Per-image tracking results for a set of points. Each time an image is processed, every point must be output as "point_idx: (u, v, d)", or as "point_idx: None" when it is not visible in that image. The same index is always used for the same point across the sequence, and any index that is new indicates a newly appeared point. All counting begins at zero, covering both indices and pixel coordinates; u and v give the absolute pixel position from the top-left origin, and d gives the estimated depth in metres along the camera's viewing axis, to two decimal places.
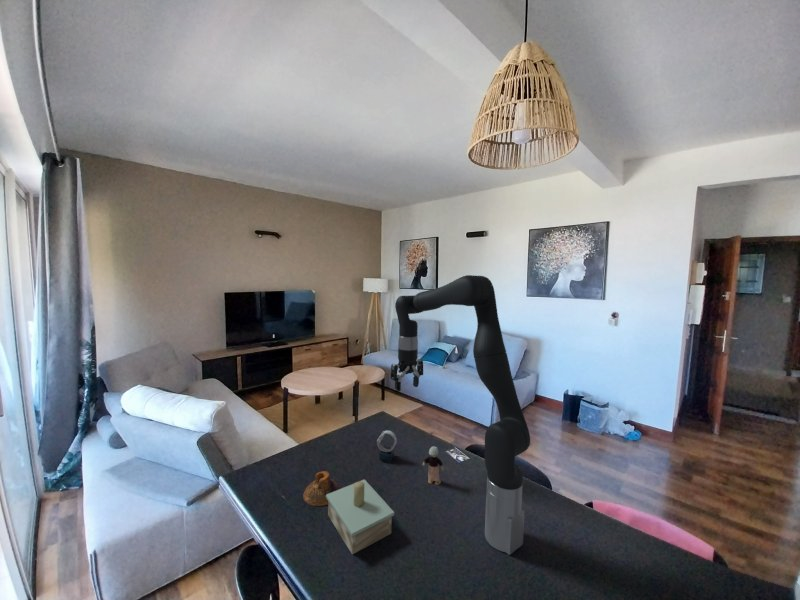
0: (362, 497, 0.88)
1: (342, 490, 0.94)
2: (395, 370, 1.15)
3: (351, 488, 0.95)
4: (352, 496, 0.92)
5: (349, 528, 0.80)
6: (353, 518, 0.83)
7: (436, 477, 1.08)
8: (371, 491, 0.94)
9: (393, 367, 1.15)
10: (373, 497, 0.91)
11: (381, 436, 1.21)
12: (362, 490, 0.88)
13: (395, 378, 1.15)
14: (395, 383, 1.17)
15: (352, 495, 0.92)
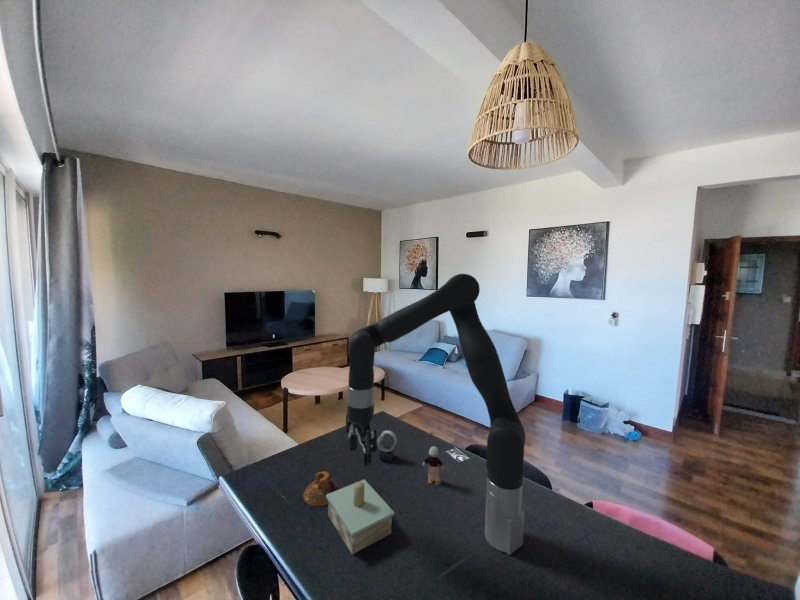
0: (362, 497, 0.88)
1: (342, 490, 0.94)
2: None
3: (351, 488, 0.95)
4: (352, 496, 0.92)
5: (349, 528, 0.80)
6: (353, 518, 0.83)
7: (436, 477, 1.08)
8: (371, 491, 0.94)
9: (373, 435, 0.82)
10: (373, 497, 0.91)
11: (381, 436, 1.21)
12: (362, 490, 0.88)
13: None
14: (367, 456, 0.83)
15: (352, 495, 0.92)
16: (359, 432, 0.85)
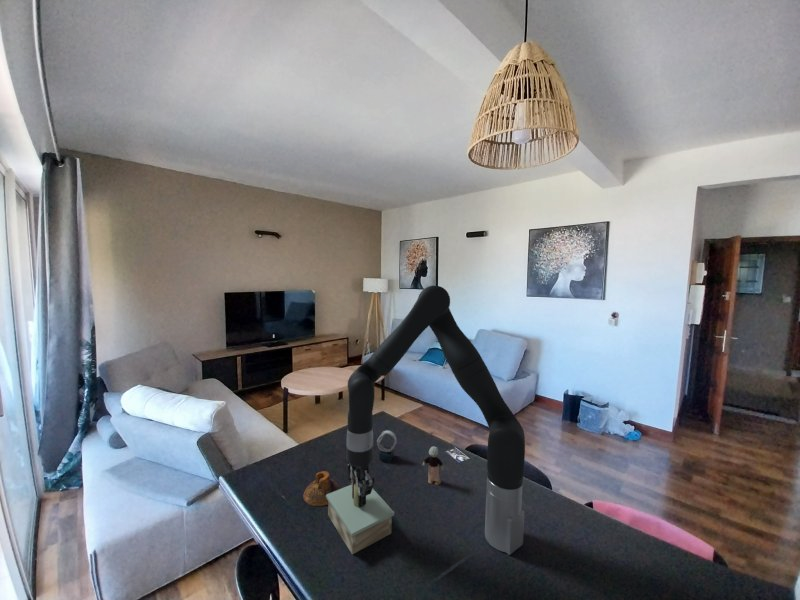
0: None
1: (342, 490, 0.94)
2: None
3: (351, 488, 0.95)
4: None
5: (349, 528, 0.80)
6: (353, 518, 0.83)
7: (436, 477, 1.08)
8: (371, 491, 0.94)
9: (371, 484, 0.83)
10: (373, 497, 0.91)
11: (381, 436, 1.21)
12: None
13: None
14: (362, 498, 0.86)
15: None
16: (358, 476, 0.86)
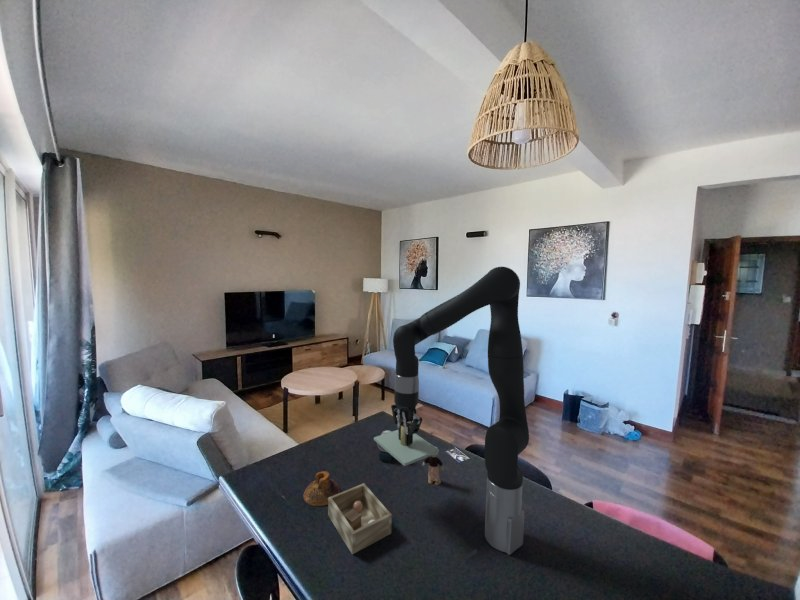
0: None
1: (387, 434, 1.02)
2: None
3: (395, 433, 1.03)
4: (398, 438, 1.00)
5: (401, 460, 0.88)
6: (403, 453, 0.92)
7: (436, 477, 1.08)
8: (414, 435, 1.02)
9: (419, 422, 0.92)
10: (417, 439, 1.00)
11: None
12: None
13: None
14: (409, 437, 0.94)
15: (397, 438, 1.00)
16: (405, 416, 0.94)
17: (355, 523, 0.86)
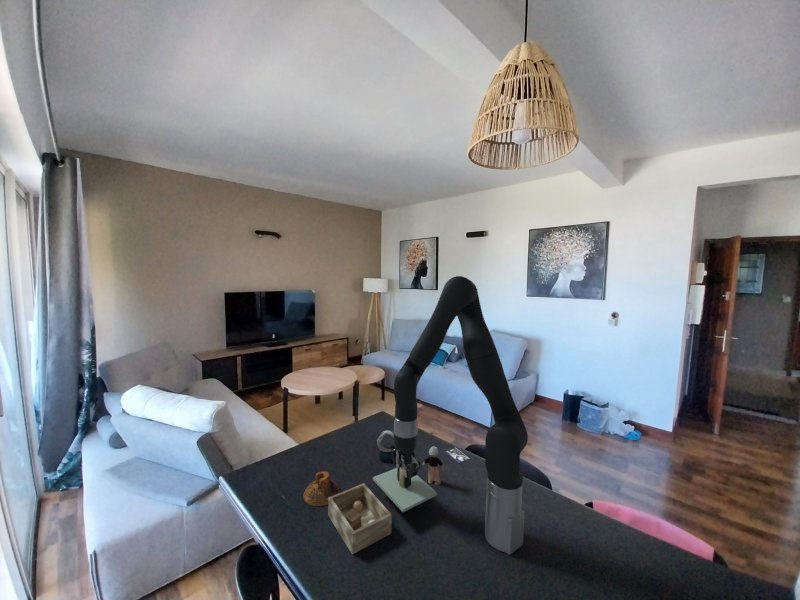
0: None
1: (386, 474, 1.03)
2: None
3: (394, 472, 1.05)
4: None
5: (399, 505, 0.89)
6: (401, 497, 0.93)
7: (436, 477, 1.08)
8: None
9: (417, 466, 0.93)
10: (416, 480, 1.01)
11: (381, 436, 1.21)
12: None
13: None
14: (408, 480, 0.96)
15: (396, 478, 1.02)
16: (404, 459, 0.95)
17: (355, 523, 0.86)
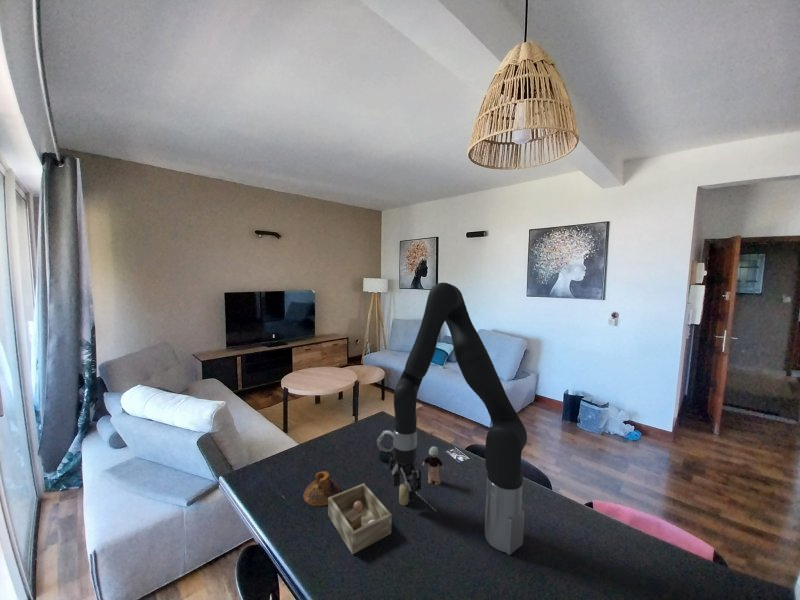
0: (407, 498, 0.97)
1: None
2: None
3: None
4: None
5: None
6: None
7: (436, 477, 1.08)
8: None
9: (418, 475, 0.92)
10: None
11: (381, 436, 1.21)
12: (407, 491, 0.97)
13: None
14: (412, 493, 0.94)
15: None
16: (404, 471, 0.95)
17: (355, 523, 0.86)
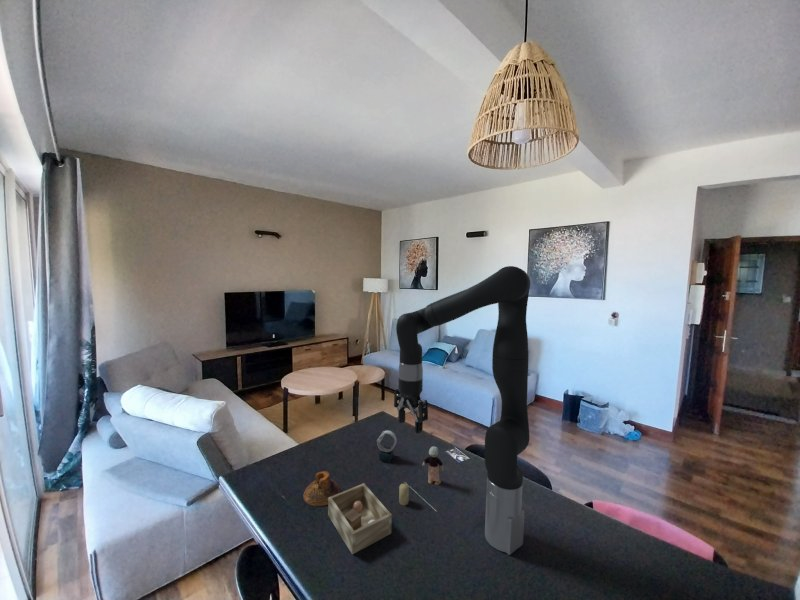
0: (407, 498, 0.97)
1: None
2: None
3: None
4: None
5: None
6: None
7: (436, 477, 1.08)
8: None
9: (425, 404, 0.91)
10: None
11: (381, 436, 1.21)
12: (407, 491, 0.97)
13: None
14: (419, 424, 0.93)
15: None
16: (410, 403, 0.94)
17: (355, 523, 0.86)
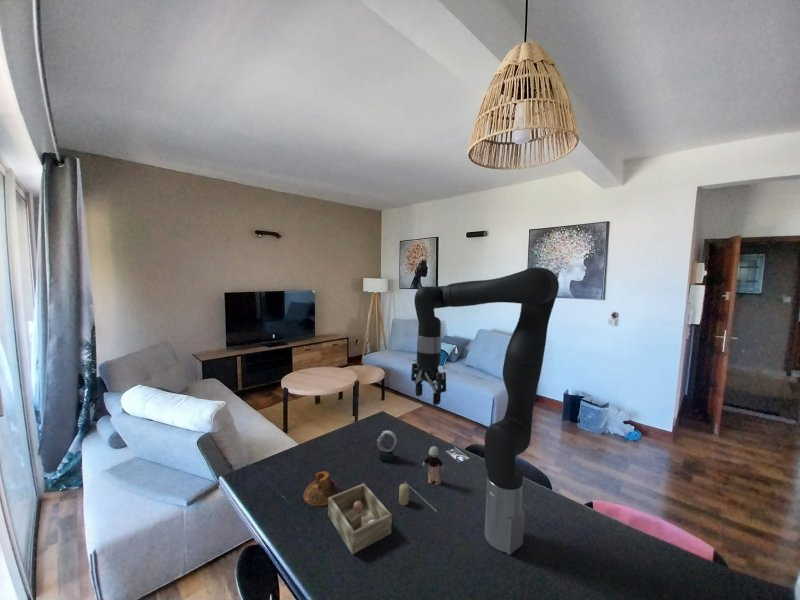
0: (407, 498, 0.97)
1: None
2: None
3: None
4: None
5: None
6: None
7: (436, 477, 1.08)
8: None
9: (443, 376, 0.93)
10: None
11: (381, 436, 1.21)
12: (407, 491, 0.97)
13: None
14: (437, 396, 0.94)
15: None
16: (429, 375, 0.96)
17: (355, 523, 0.86)
